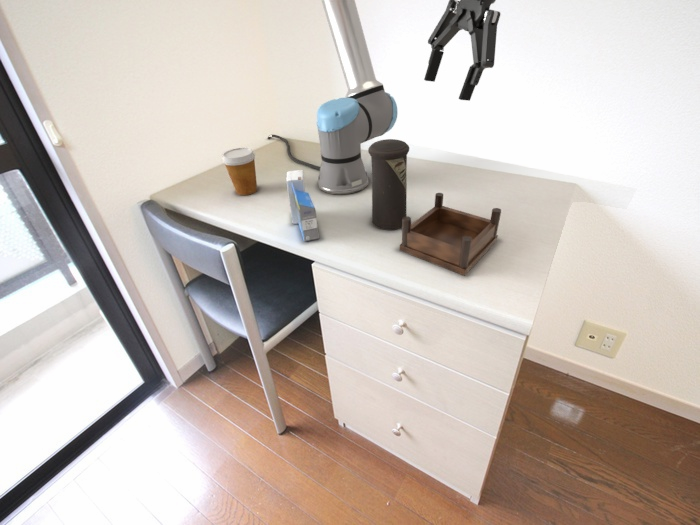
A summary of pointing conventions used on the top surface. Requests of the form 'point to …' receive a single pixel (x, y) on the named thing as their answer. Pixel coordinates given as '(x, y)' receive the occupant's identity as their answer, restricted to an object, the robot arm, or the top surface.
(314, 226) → the tape cartridge
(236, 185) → the disposable coffee cup
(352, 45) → the robot arm
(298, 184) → the cosmetic box
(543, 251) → the top surface
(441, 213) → the wooden tray
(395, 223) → the container
